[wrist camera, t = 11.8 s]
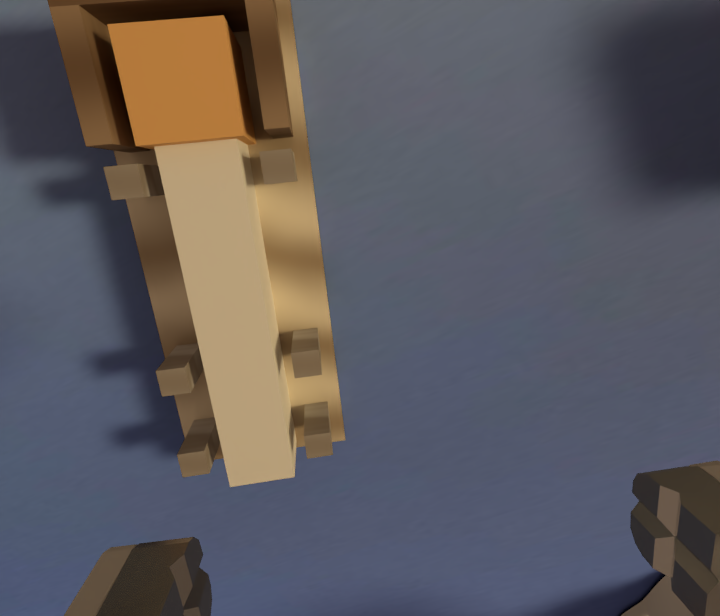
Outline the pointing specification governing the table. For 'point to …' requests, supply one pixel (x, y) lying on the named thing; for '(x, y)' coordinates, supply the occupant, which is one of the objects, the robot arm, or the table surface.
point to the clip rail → (274, 199)
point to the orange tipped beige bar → (214, 226)
